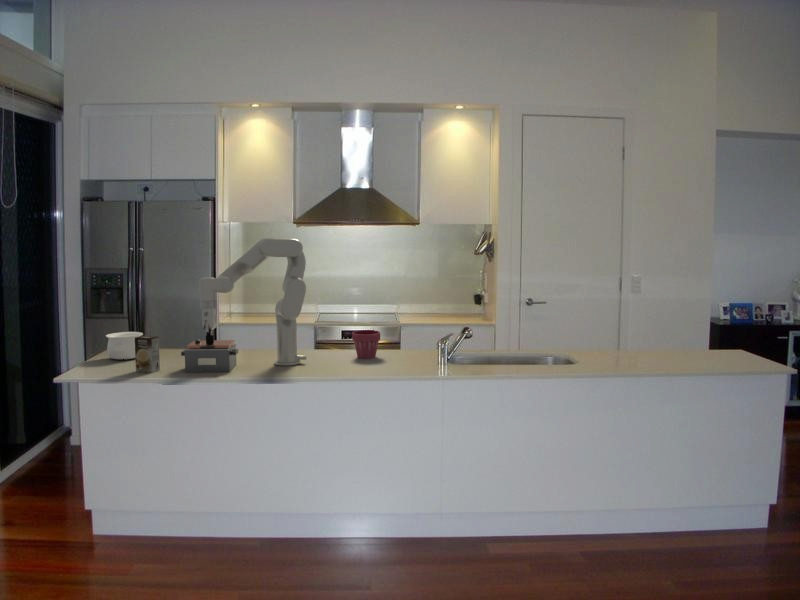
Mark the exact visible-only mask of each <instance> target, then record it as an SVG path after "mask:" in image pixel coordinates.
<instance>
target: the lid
mask: <svg viewBox="0 0 800 600" xmlns="http://www.w3.org/2000/svg"><path fill="white" fill-rule="evenodd" d="M235 341H236V340H235V339H230V340H229V339H226V340H225V339H222V340H221V339H218V340H217V339H216V340H215V339H214V343H213V344H206V340H201V339H196V340H193V341H192V342H190V343H189V344H187V345H186V349H187V348H229V347H230V346H232V345H233V344H235Z"/></svg>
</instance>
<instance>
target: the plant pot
mask: <svg viewBox="0 0 800 600" xmlns="http://www.w3.org/2000/svg"><path fill="white" fill-rule="evenodd" d="M351 335H352V336H351V339H352V341H353V343H354V346H355V352H356V356H357V359H358V358H359V359H363V360H366V359H367V360H368V359H374V358H376V355H377V351H378V347H379V340H381V331H379V330H375V329H373V330H372V329H362V330H354V331H352V333H351Z"/></svg>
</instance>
